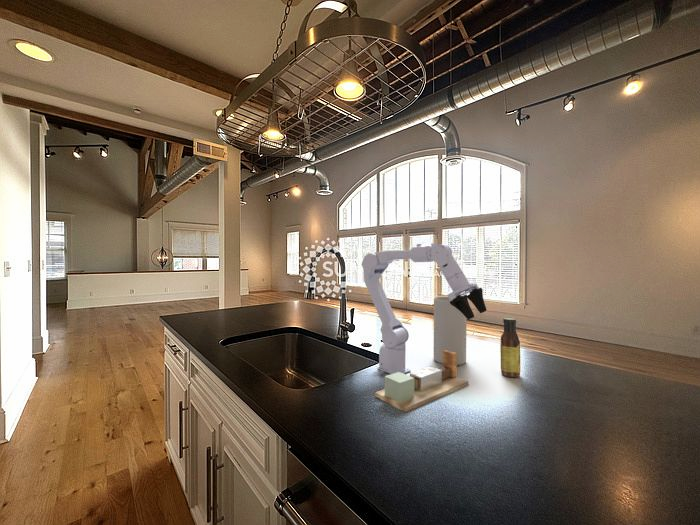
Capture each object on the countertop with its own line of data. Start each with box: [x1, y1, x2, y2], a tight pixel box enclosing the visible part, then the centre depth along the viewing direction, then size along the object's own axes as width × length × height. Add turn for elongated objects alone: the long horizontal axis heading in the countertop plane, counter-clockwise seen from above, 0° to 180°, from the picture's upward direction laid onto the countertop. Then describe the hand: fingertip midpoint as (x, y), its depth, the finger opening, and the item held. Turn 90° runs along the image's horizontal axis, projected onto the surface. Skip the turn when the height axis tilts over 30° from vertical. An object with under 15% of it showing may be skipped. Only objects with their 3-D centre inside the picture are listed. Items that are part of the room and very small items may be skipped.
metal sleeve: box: [409, 365, 442, 392], centre depth 96 cm, size 4×10×4 cm, turn 128°
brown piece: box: [413, 350, 458, 388], centre depth 98 cm, size 4×20×8 cm, turn 128°
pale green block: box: [384, 372, 414, 402], centre depth 88 cm, size 6×6×5 cm
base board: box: [374, 376, 469, 413], centre depth 95 cm, size 12×30×1 cm, turn 128°
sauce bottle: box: [499, 317, 521, 378], centre depth 109 cm, size 7×6×20 cm
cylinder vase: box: [433, 296, 468, 366], centre depth 124 cm, size 12×12×25 cm
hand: (477, 315), depth 95 cm, fingers open, 7 cm apart
